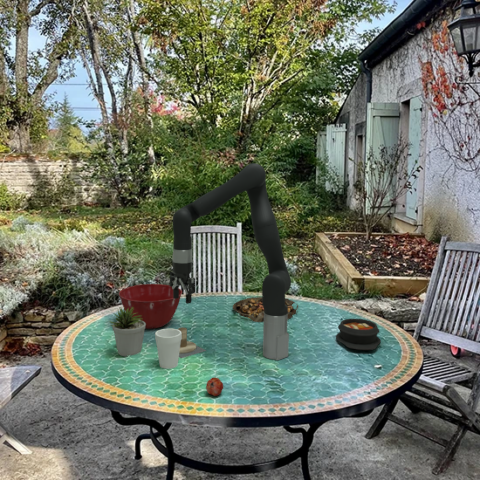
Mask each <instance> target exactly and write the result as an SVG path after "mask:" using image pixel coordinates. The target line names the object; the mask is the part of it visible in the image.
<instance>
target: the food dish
mask: <svg viewBox="0 0 480 480" xmlns="http://www.w3.org/2000/svg"><path fill="white" fill-rule="evenodd" d="M294 304H296V302H295V301H294V300H291V299H289V298H286V297H285V305H287V307H288V320H290V319H292V318H294V316H295V315H297V311H298V309H299V305H298V304H296V308H294ZM232 309H233V310H234V313H237V314H238V316H240V317H244V318H248V319H249V320H251V321H252V322H253V323H254V322H255V323H264V308H263V304H262V296H257V297H255V296H253V297H248V298H245V299H241V300H238V301H237V302H235V303H234V304H232Z"/></svg>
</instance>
